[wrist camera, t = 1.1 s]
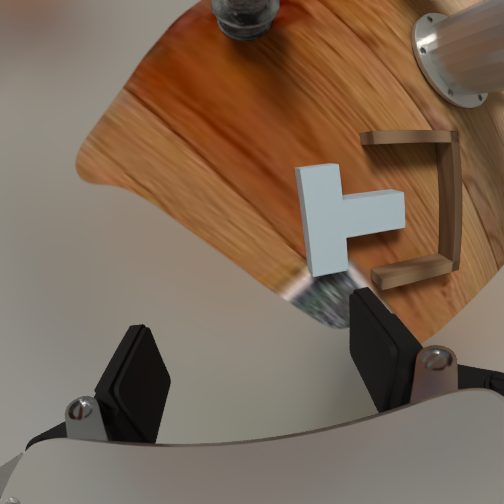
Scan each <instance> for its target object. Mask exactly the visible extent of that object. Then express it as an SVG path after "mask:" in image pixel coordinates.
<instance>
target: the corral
mask: <svg viewBox="0 0 504 504" xmlns="http://www.w3.org/2000/svg"><path fill="white" fill-rule="evenodd" d="M360 139H361V145H371V144H390V143H418V142H435V146H436V156H437V168H438V184H439V250H438V254H433V255H429V256H425V257H421V258H416V259H412V260H408V261H403V262H399V263H394V264H390V265H385V266H380V267H376V268H371V279H372V280H373V281H374V282H375V283H376V284H377V285H378V286H379V287H380V288H381V289H382V290H385V289H389V288H393V287H397V286H401V285H405V284H409V283H413V282H417V281H420V280H424V279H428V278H431V277H435V276H439V275H442V274H446V273H449V272H453V271H456V270H459V264H460V252H461V237H462V174H461V159H460V147H459V138H458V131H440V130H390V131H370V132H364V133H360Z"/></svg>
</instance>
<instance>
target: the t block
mask: <svg viewBox="0 0 504 504" xmlns="http://www.w3.org/2000/svg"><path fill="white" fill-rule="evenodd" d="M295 173H296V180H297V186H298V193H299V201H300V208H301V215H302V223H303V231H304V239H305V248H306V257H307V266H308V269H309V271H310V272H311V274H312V276H313V277H316V276H321V275H326V274H331V273H336V272H342V271H347V270H348V259H347V243H346V238H348V237H354V236H359V235H365V234H371V233H376V232H382V231H388V230H394V229H399V228H405V206H404V192H401V191H397V190H393V189H389V190H380V191H372V192H364V193H357V194H349V195H342V188H341V179H340V171H339V164H331V163H330V164H321V165H313V166H305V167H298V168H295Z"/></svg>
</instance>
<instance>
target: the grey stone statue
mask: <svg viewBox="0 0 504 504" xmlns="http://www.w3.org/2000/svg"><path fill="white" fill-rule="evenodd" d="M211 8H212V11H213V14H214V15H215V17H216V18H217V19H218V20H217V22H218V26H219V28H220V30H221V31H222V32H223V33H224V34H225V35H226V36H228V37H230V38H232V39H236V40H244V41H248V40H254V39H257V38H259V37H261V36H263V35H264V34H266V33H267V31H268V30H269V29H270V27H271V24H272V20H273V19H274V17H275V16H276V15H277V13H278V10H279V0H212V3H211Z"/></svg>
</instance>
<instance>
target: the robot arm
mask: <svg viewBox="0 0 504 504" xmlns="http://www.w3.org/2000/svg"><path fill="white" fill-rule="evenodd" d="M411 38H412V47H413V51H414V55H415V57H416V60H417V63H418V65H419V67H420V69H421V71H422V73H423V74H424V76H425V77H426V79H427V80H428V82H429V83H430V85H431V86H432V87H433V88H434V89H435V91H436V92H437V93H438V94H440V95H441V96H442V97H443V98H444V99H445V100H447V101H448V102H449V103H451V104H453V105H455V106H457V107H461V108H474V107H478V106H480V105H481V104H482V103H483V102H484V101H485V100H486V98H487V96H488V93H491V92H499V91H504V0H483V1H480V2H478V3H476V4H474V5H472V6H470V7H468V8H466V9H463V10H461V11H459V12H457V13H455V14H453V15H451V16H450V17H449V16H446V15H444V14H440V13H428V14H425V15H423V16H422V17H420V18H419V19H418V20H417V21H416V22H415V24H414V26H413V29H412V36H411ZM349 305H350V354H351V357H352V358H353V361H354V363H355V365H356V367H357V369H358V371H359V373H360V375H361V377H362V379H363V381H364V383H365V385H366V387H367V389H368V391H369V393H370V395H371V398H372V400H373V402H374V404H375V406H376V408H377V410H378V412H379V413H378V414H375V415H371V416H368V417H364V418H361V419H357V420H353V421H350V422H346V423H342V424H338V425H334V426H330V427H325V428H320V429H316V430H311V431H306V432H301V433H295V434H289V435H283V436H276V437H269V438H262V439H254V440H244V441H233V442H221V443H200V444H155V442H156V439H157V435H158V431H159V427H160V422H161V419H162V415H163V411H164V407H165V403H166V399H167V395H168V391H169V388H170V384H171V380H170V376H169V373H168V371H167V369H166V367H165V364H164V362H163V360H162V357H161V355H160V352H159V350H158V348H157V345H156V343H155V340H154V338H153V335H152V333H151V330H150V328H148V327H145V325H143V324H142V325H133V326H130V327H129V329H128V330H127V332H126V334H125V336H124V337H123V339H122V341H121V343H120V344H119V346H118V348H117V350H116V351H115V353H114V355H113V357H112V359H111V360H110V362H109V364H108V366H107V368H106V370H105V371H104V373H103V375H102V377H101V379H100V381H99V383H98V384H97V386H96V388H95V390H94V391H95V392H96V394H95V396H94V398H93V397H90V396H83V397H79V398H77V399H75V400H74V401H72V402H71V403H70V404H69V405H68V406H67V408H66V410H65V422H63V423H61V424H59V425H57V426H55V427H53V428H52V429H50V430H48V431H46V432H44V433H42V434H40V435H38V436H36V437H34V438H33V439H32V440H30V442H29V443H28V444H27V446H26V450H25V453H24V454H23V453H20V455H18V456H16V457H15V458H13V459H12V460H10V461H9V462H7V463H5V464H4V465H2V466H1V467H0V504H504V373H502V372H498V371H492V370H486V369H480V368H475V367H469V366H464V365H459V364H457V358H456V355H455V354H454V352H453V351H452V350H450V349H449V348H447V347H444V346H439V345H433V346H428V347H425V348H423V347H422V346H421V344H420V343H419V342H418V341H417V339H416V338H415V337H414V336H413V335H412V333H411V332H410V331H409V330H408V329H407V327H406V326H405V325H404V324H403V323H402V322H401V320H400V319H399V318H398V317H397V316H396V315H395V314H393V313H390V311H389V310H388V309H387V308H386V307H385V306H384V304H383V303H382V302H381V301H380V300H379V299H378V298H377V296H376V295H375V294H374V293H373V292H372V291H371V290H370V289H369V288H368V287H365V288H361V289H356V290H354V292H353V294H350V296H349Z"/></svg>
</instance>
